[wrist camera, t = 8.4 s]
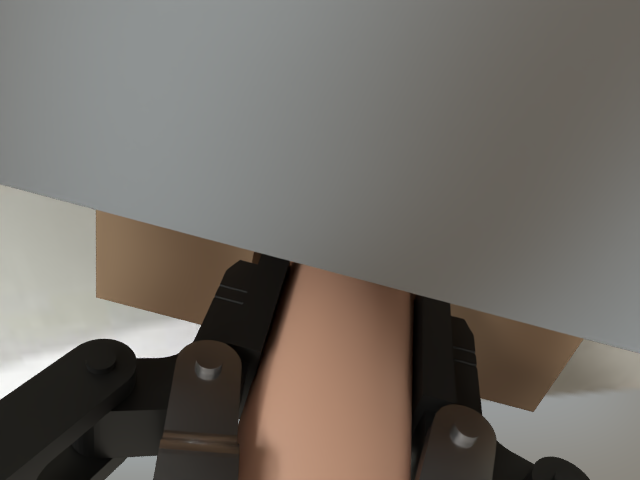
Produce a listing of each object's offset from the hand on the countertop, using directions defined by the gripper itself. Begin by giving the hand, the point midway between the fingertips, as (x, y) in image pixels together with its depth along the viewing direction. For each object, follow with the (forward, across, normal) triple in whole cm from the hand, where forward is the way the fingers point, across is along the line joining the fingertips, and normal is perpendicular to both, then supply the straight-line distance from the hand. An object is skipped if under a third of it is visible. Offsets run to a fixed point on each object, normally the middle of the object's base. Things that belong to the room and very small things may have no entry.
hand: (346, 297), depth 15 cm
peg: (+2, 0, 0) cm, 2 cm away
